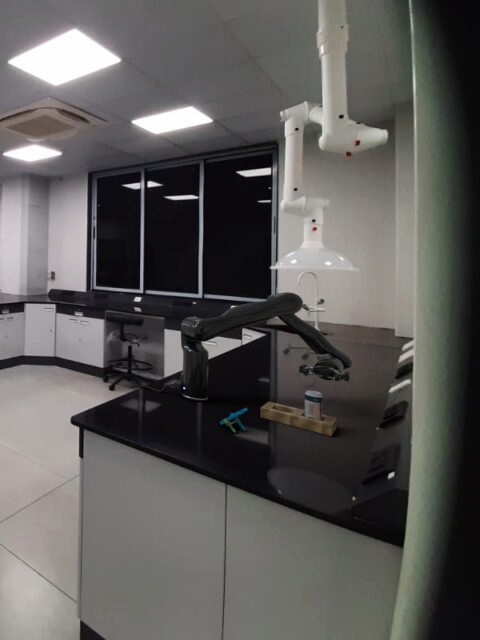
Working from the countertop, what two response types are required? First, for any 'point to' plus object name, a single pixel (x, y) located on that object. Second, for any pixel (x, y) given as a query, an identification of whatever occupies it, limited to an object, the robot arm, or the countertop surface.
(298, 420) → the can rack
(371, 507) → the countertop surface
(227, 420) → the blue-green rod frame
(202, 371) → the robot arm
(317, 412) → the beer can
